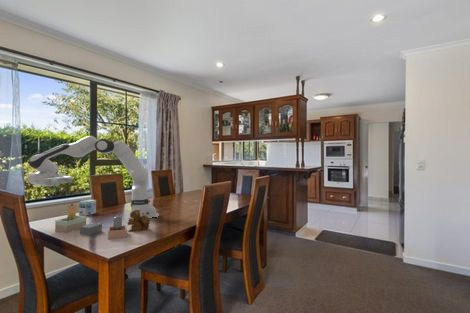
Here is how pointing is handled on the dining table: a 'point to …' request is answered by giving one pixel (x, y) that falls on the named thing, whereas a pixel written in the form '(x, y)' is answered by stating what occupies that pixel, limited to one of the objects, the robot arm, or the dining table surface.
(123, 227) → the pink square tray
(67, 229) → the trough
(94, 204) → the light bulb box
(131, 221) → the stuffed squirrel
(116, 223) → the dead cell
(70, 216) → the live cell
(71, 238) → the dining table surface
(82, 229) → the cradle
